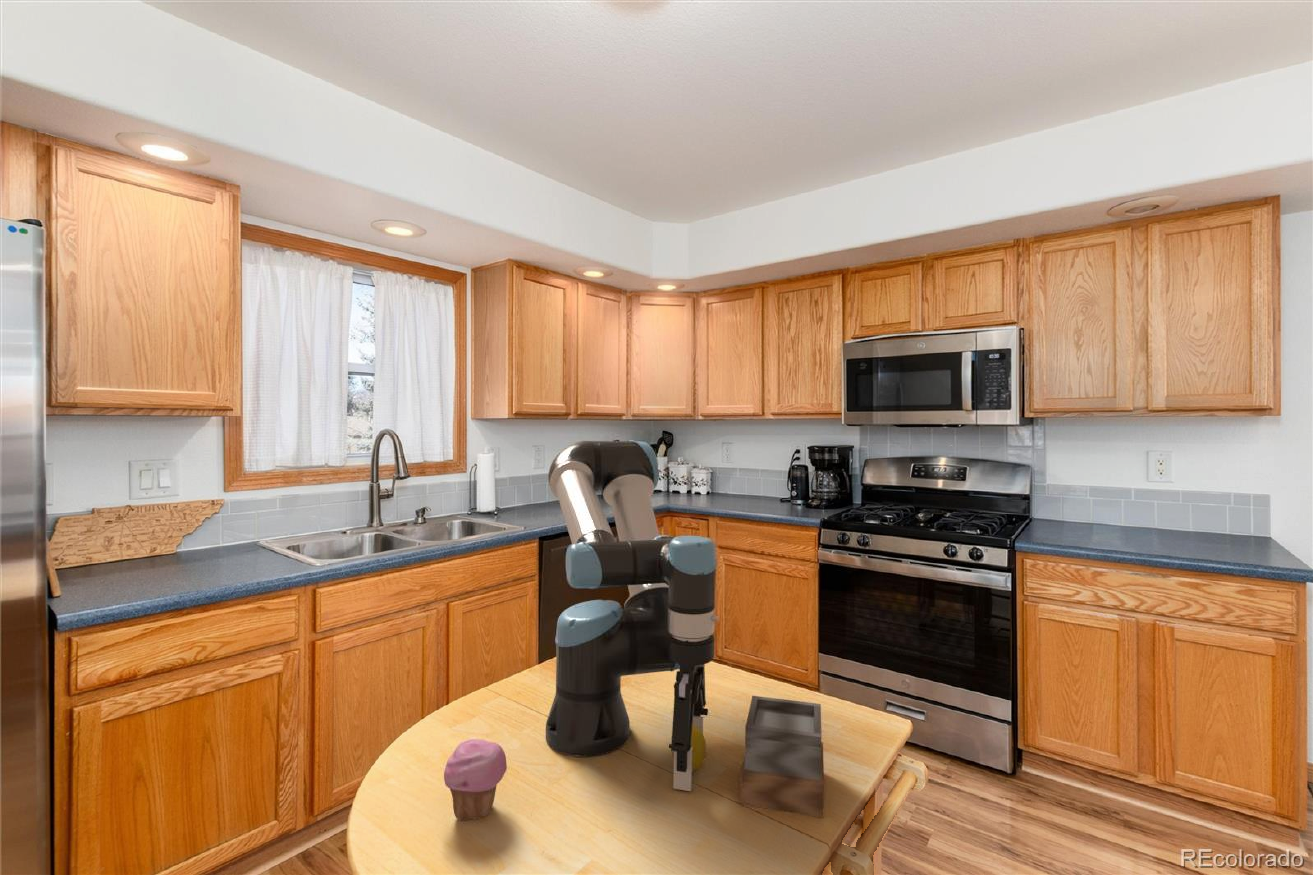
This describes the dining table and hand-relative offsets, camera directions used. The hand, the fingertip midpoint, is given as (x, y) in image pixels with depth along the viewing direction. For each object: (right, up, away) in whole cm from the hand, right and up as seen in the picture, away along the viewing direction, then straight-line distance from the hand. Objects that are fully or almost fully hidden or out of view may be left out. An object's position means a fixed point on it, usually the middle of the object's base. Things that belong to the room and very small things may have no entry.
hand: (688, 770), depth 101 cm
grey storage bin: (+15, -1, -4) cm, 15 cm away
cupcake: (-32, 0, -11) cm, 33 cm away
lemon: (0, -1, 0) cm, 1 cm away
